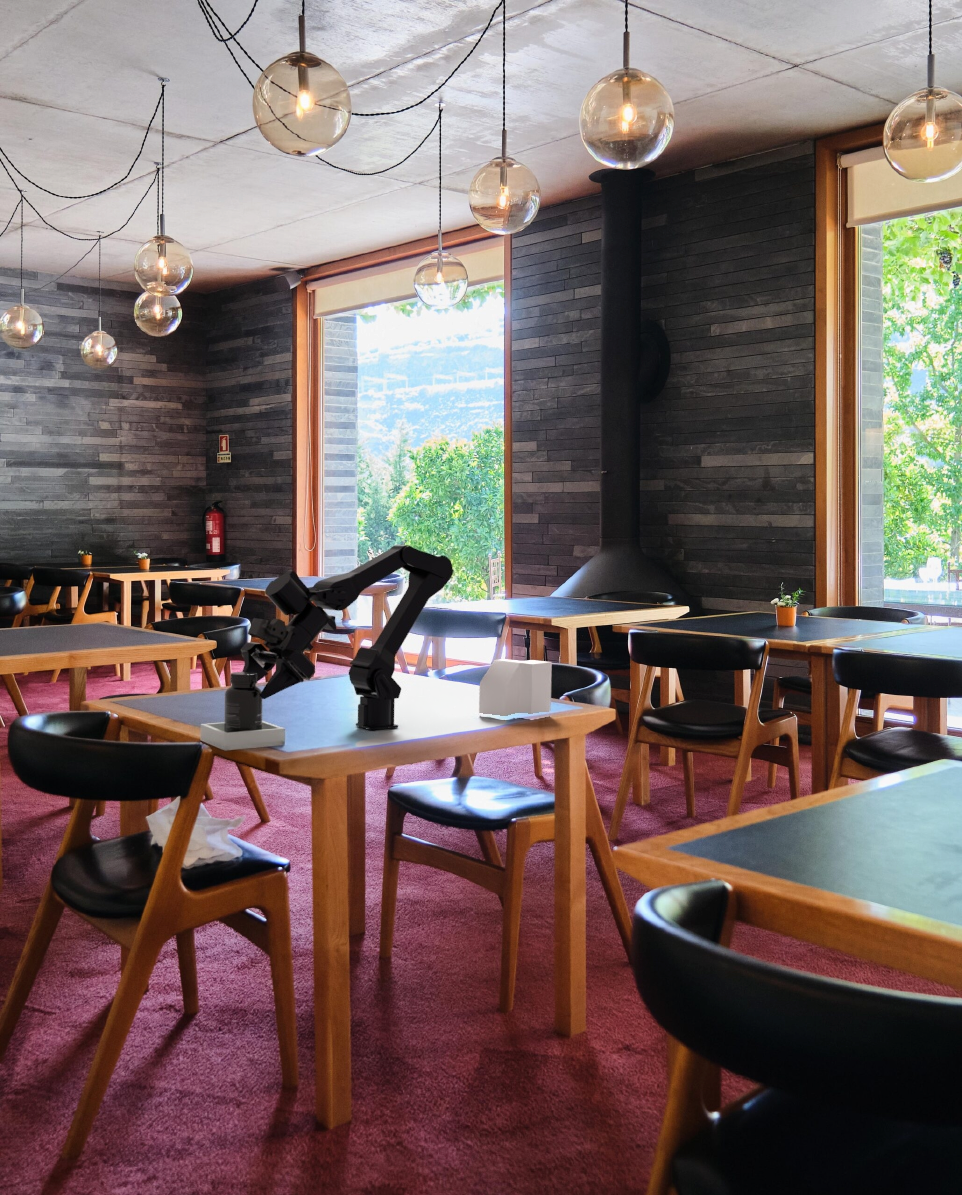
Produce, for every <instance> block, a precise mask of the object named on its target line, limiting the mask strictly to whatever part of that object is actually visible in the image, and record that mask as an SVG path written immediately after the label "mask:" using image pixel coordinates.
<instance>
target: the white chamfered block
mask: <svg viewBox="0 0 962 1195" xmlns="http://www.w3.org/2000/svg"><path fill="white" fill-rule="evenodd" d="M552 663H553V662H552V661H544V660H537V659H536V660H535V659H529V660H517V659H509V658H508V659H507V658H501V659H494V660H493V661H492V663H491V665H490V666H489V668H488V669H487V670H486V672H485V674H484V675H483V677H482V679H481V680H480V682H479V693H478V694H479V701H478V702H479V703H478V706H479V707H478V714H479V713H483V714H492V715H500V716H508V715H511V714H515V713H528V714H533V713H539V712H549V711H551V705H552V672H553V671H552V667H553V666H552V665H553V664H552Z"/></svg>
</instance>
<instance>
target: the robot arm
mask: <svg viewBox="0 0 962 1195" xmlns="http://www.w3.org/2000/svg"><path fill="white" fill-rule="evenodd" d="M401 569H403V570H405V571H406V572H409V573H408V586H407V589H406V591H405V592H404V594H403V596H402V598H400V601H399V603H398V604H397V606H396V607H395V609H394V611H393V613H392V614H391V616H390V618H389V619H388V620H387V622H386V624H385V625H384V628H382V630H381V632H380V634H379V636H378V637H377V639H376V641H375V642H374V643H373V645H372V646H370V647H369V648H368V647H362V646H361V647H360V648H358V650H357V652H356V655H355V656H354V658H353V660H351V661H350V662H349V665H350V667H349V670H348V675H349V676H348V677H349V681H350V683H351V685H352V686H353V688H354V692H355V695H356V696H359V703H358V705H357V722H356V723H355V726H357V727H359V728H363V729H366V730H369V731H375V730H384V729H385V730H387V729H396V728H399V725H398V724H395V700H396V699H399V698H400V695H401V691H402V687H401V686H400V685H399V684H398V682H397V681H396V680H395V679H394V678H393V674H394V673H395V670H396V669H395V667H396V666H395V665H396V656H397V654H398V652H399V650H400V648H401V647H402V645H403V643H404V642H405V640H406V638H407V637H408V635H409V633H410V632H411V630H412V628H413V626H414V625H415V623H416V621H417V619H418V618H419V616H420V615H421V613H422V611H423V610H424V608H425V606H426V604H427V603H428V601H429V600H430V599H431V597H433V596H434V595H435V594H437V593H439V592H440V591H442V589H443V588H445V586H446V585H447V584H448V582H449V581H451V579H452V577H453V574H454V569H453V563H452V561H451V560H450V558H449V557H447V556H446V555H442V554H441V555H440V554H438V555H437V554H436V555H435V554H432V553H429V552H427V551H424V550H423V551H422V550H419V549H418V548H415V547H413V546H411V545H409V544H395V545H392V546H391V547H390V548H389V549H388V550H386V551H384V552H383V553H380V554H379V555H377V556H375V557H374V558H371V559H370V560H368V561H367V562H365V563H363V564H361V565H359V566H358V567H356V568H354V569H352V570H351V571H349V572H345V573H342V574H338V575H337V574H336V575H333V576H329V577H326V578H324V579H321V580H318V581H317V582H315V583H314V585H313V586H310V587H307V585H306V584H305V583H304V582H303V581H302V580H301V579H300V577H299V575H298V574H297V572H296V571H294V570H287V571H286V572H285V573H284V574H282V575H280V576H278V577H276V578H274V580H271V581H270V582H269V583H268V584H267V586H266V587H265V591H264V594H265V595H266V596H267V598H268V599H269V600H270V601H271V602H272V603H273V604H274V605H275V606H276V608H277V609H279V611H280V612H281V613H282V614H283V615H284V616H290V615H292V616H293V617H292V619H291V620H290V621H289V622H288V623H287V625H286V622H285V621H284V620H282V619H279V618H273V619H272V620H267V619H263V618H255V617H254V618H252V622H251V623H250V624H251V625H250V626H249V629H248V631H247V635H248V636H251V637H256V638H258V639H260V640H261V641H264V642H263V643H259V642H253V641H250V642H246V643H245V644H243V645H242V647H241V649H240V652H241V656H242V658H243V662H244V665H243V668H242V671H241V672H253V673H257V682H258V681H260V680H262V679H264V678H265V677H266V676H268V675H269V673H268V672H269V671H272V670H273V669H274V667H275V671H274V673H273V674H272V675H271V676H270V678H269V680H267V681H268V682H267V683H266V684H265V686H264V687H263V689H261V691H262V692H261V694H260V696H261V698H262V700H266V699H267V698H269V697H271V696H274V695H276V694H278V693H279V692H281V691H284V690H286V689H288V688H290V687H293V686H295V685H297V684H299V683H303V682H304V681H305V680H306V681H310V680H311V679H312V677H313V676H314V675H315V674H316V664H314V663H313V662H312V660H310V659H309V657H308V656H307V655H306V654H305V651H308V652H309V651H312V650H313V648H314V646H313V645H312V643H313V642H314V640H315V639H316V638H317V637H318V635H319V634H320V633H321V632H322V631H323V629H324V630H330V631H337V622H336V616H335V615H329V614H328V612H326V610H330V611H336V612H337V611H338V612H339V611H343V610H346V609H347V608H348V607H350V606H351V605H352V604H353V603H354V602H355V601H356V600H357V599H358V598H359V597H360V595H361V594H362V592H363V591H365V589H367V588H370V587H371V586H372V585H374V584H376V583H378V582H380V581H381V580H384V579H385V578H386V577H388V576H391V575H392V574H393V573H395V572H397V571H398V570H401ZM268 649H269V650H268Z"/></svg>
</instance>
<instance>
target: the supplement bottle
mask: <svg viewBox="0 0 962 1195" xmlns="http://www.w3.org/2000/svg"><path fill="white" fill-rule="evenodd" d="M229 683H230V684H231V686H230V687H228V688H227V689H226V690H225V693H224V717H223V718H224V721H223V722H224V732H227V733H229V732H241V731H253V730H262V721H263V699H262V698H261V696H260V694H261V692H262V689H261V688H260V687H258V686H257V684H258V681H257V673H253V672H242V671H237V672H231V673H230V680H229Z"/></svg>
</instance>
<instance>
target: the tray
mask: <svg viewBox="0 0 962 1195" xmlns="http://www.w3.org/2000/svg"><path fill="white" fill-rule="evenodd" d="M200 741H202V742H204V743H206V744H208V745H210V746H213V747H215V748H218V749H220V750H222V751H225V752H226V751H233V750H234V751H235V750H245V749H255V748H256V749H257V748H267V747H275V746H276V747H277V746H285V745H286V728H285V727H282V726H279V725H276V724H273V723H270V722H267V721H265V720H262V730H253V731H241V732H229V733H227V732H224V721H223V722H213V723H211V722H210V723H209V722H208V723H200Z"/></svg>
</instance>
